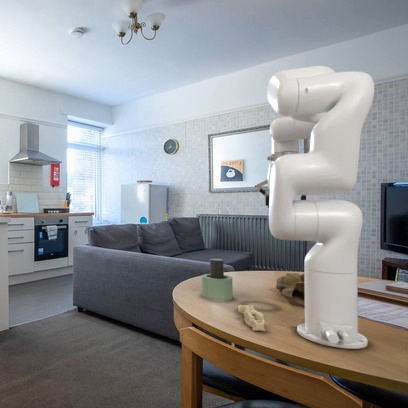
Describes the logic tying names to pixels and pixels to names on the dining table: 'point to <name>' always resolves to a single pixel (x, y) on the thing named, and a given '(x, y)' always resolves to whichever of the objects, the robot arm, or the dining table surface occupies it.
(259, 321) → the beige lumpy bar
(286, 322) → the dining table surface
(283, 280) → the figurine
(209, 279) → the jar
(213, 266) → the peg
